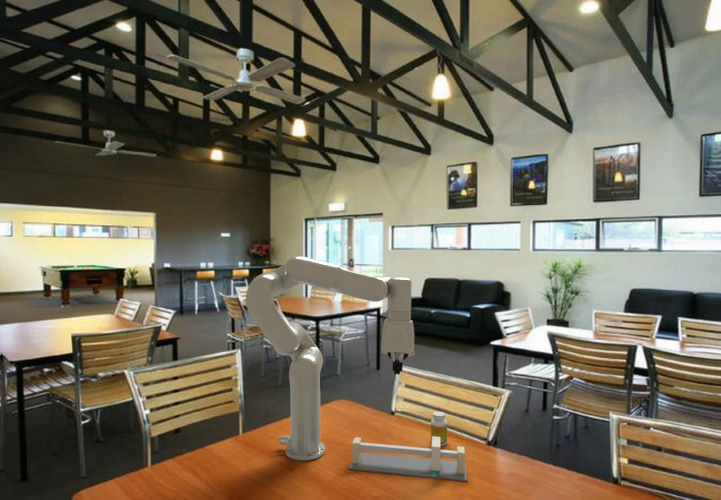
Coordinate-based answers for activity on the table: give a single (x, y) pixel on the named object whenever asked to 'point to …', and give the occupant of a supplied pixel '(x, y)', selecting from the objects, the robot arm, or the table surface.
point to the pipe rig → (407, 461)
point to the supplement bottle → (439, 427)
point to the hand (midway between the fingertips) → (397, 373)
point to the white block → (435, 453)
